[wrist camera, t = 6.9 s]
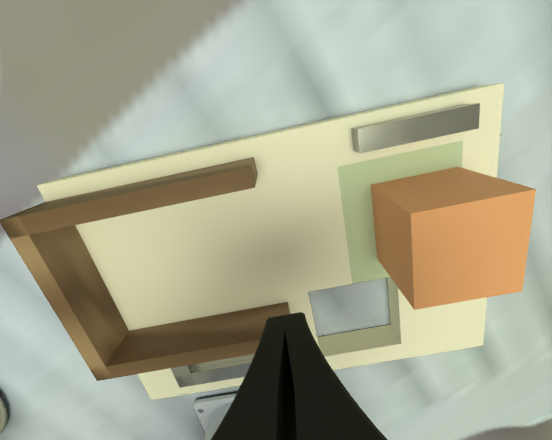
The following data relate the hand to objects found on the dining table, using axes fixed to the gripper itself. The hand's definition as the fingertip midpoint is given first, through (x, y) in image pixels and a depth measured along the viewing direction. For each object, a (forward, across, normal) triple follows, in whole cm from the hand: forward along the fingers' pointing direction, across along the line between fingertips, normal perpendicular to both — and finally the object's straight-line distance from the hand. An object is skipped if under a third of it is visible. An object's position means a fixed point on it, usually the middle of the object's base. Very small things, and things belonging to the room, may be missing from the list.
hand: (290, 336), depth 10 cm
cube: (+8, -8, 0) cm, 11 cm away
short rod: (+8, -8, -5) cm, 12 cm away
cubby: (+8, +7, 0) cm, 10 cm away
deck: (+10, 0, +2) cm, 10 cm away
